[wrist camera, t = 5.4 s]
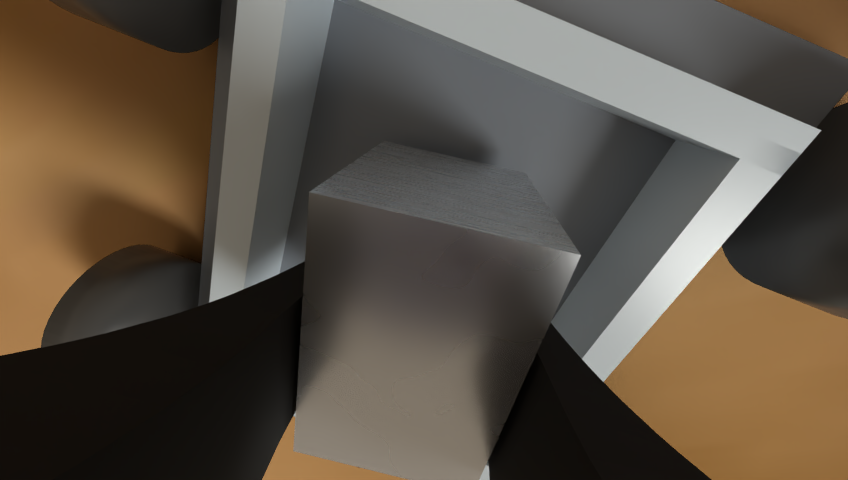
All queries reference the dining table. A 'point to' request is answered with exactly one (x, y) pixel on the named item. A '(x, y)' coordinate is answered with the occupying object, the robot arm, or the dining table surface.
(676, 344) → the dining table surface
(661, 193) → the chassis
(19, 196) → the dining table surface
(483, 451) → the brushed metal block
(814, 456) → the dining table surface
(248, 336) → the robot arm
